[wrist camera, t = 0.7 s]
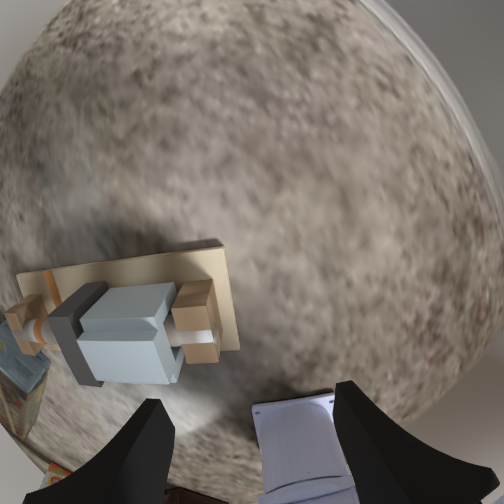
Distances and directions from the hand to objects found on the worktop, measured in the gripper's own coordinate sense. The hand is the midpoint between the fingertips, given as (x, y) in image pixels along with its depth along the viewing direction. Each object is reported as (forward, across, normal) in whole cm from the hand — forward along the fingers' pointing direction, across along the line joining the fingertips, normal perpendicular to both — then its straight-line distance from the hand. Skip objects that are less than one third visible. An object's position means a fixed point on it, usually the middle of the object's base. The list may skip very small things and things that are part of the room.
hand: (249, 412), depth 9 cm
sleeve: (+9, +7, 0) cm, 12 cm away
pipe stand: (+10, +11, 0) cm, 15 cm away
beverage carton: (+11, +31, +10) cm, 34 cm away
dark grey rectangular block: (+10, +11, 0) cm, 15 cm away
